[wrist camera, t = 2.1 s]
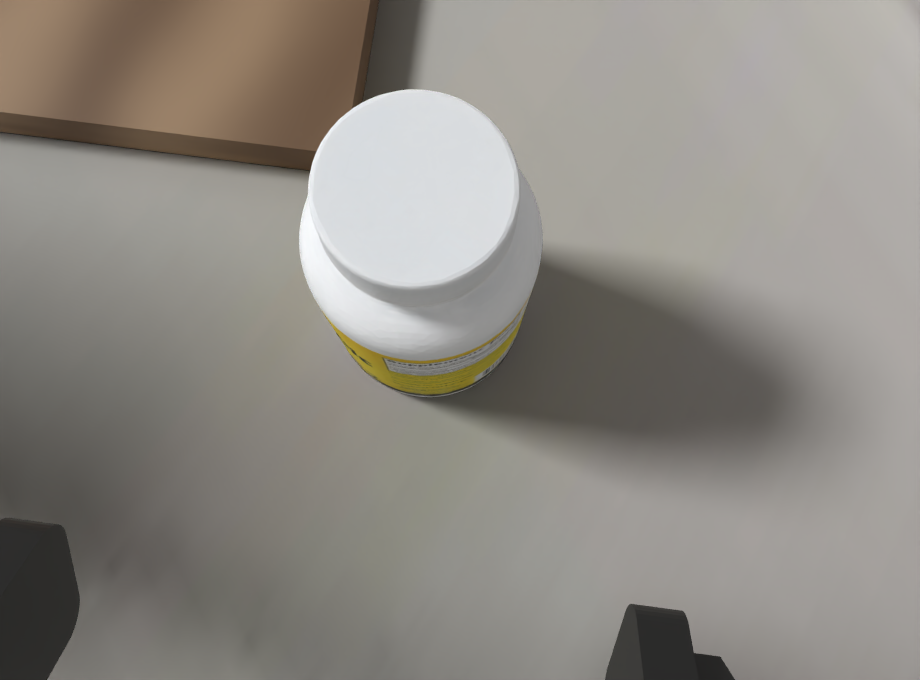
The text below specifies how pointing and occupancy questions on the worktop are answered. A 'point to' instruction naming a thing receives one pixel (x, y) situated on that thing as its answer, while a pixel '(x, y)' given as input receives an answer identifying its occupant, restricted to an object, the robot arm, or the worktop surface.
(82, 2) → the walnut board
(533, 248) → the supplement bottle
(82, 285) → the worktop surface
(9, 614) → the robot arm
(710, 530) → the worktop surface
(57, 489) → the worktop surface
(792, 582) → the worktop surface
